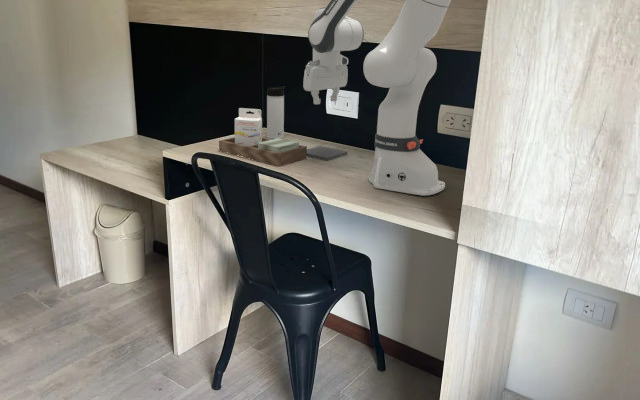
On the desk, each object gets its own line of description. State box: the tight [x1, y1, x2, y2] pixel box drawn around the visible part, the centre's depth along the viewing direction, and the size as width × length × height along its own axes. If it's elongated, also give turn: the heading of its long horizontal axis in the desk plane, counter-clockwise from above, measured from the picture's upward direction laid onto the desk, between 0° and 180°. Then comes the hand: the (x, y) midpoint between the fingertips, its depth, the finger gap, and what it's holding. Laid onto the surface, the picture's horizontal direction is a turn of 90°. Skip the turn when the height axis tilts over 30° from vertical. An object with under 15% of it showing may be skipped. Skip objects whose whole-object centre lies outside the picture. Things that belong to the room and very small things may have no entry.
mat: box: [307, 145, 348, 162], centre depth 192 cm, size 12×12×1 cm
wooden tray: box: [218, 136, 308, 167], centre depth 188 cm, size 27×14×4 cm, turn 53°
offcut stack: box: [258, 138, 300, 153], centre depth 183 cm, size 10×11×6 cm
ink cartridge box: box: [234, 107, 263, 146], centre depth 190 cm, size 9×5×15 cm, turn 81°
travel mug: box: [266, 86, 286, 140], centre depth 208 cm, size 6×7×20 cm
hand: (325, 102), depth 186 cm, fingers open, 8 cm apart
